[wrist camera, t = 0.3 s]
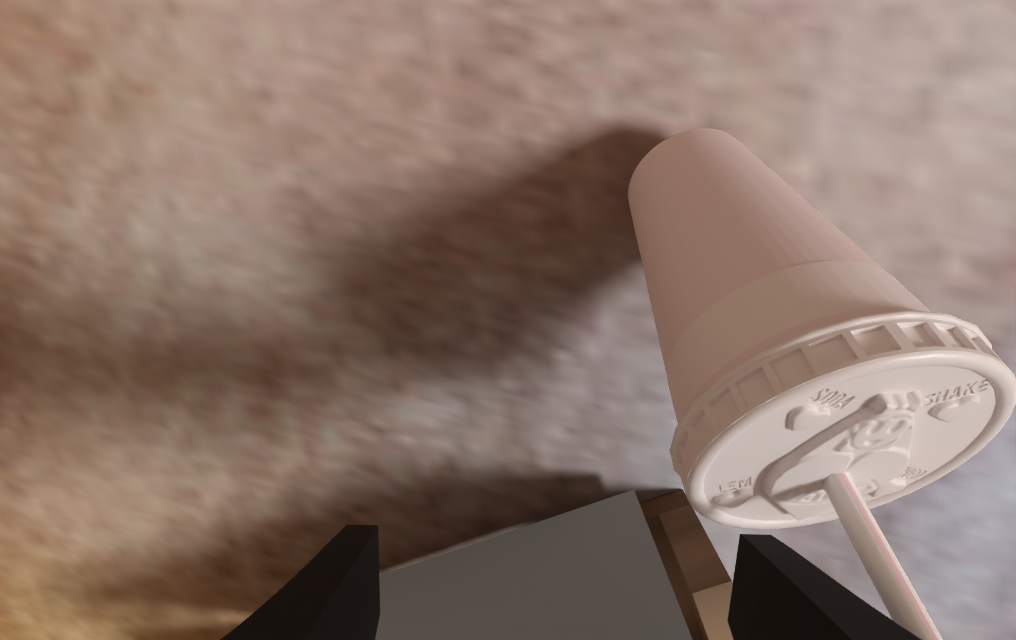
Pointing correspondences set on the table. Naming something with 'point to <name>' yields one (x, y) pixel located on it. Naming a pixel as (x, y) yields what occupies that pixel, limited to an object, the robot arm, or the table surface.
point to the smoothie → (800, 359)
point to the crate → (691, 565)
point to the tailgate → (541, 584)
